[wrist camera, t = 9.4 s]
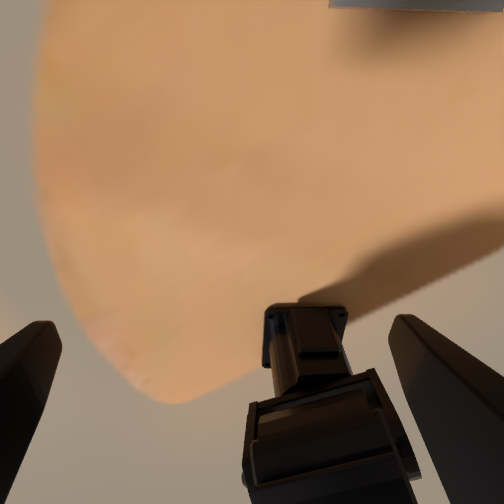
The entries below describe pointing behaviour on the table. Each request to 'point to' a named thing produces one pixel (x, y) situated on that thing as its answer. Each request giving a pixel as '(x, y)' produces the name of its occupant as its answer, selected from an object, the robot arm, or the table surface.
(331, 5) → the coaster
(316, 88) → the table surface
